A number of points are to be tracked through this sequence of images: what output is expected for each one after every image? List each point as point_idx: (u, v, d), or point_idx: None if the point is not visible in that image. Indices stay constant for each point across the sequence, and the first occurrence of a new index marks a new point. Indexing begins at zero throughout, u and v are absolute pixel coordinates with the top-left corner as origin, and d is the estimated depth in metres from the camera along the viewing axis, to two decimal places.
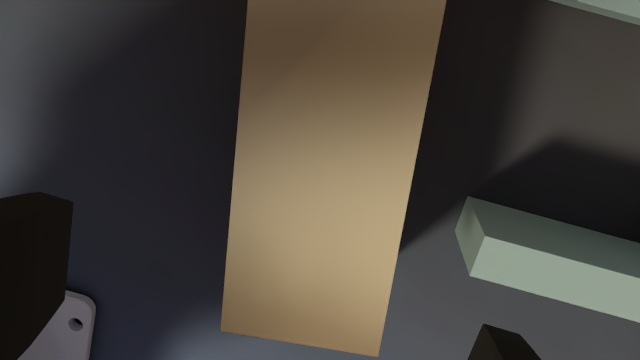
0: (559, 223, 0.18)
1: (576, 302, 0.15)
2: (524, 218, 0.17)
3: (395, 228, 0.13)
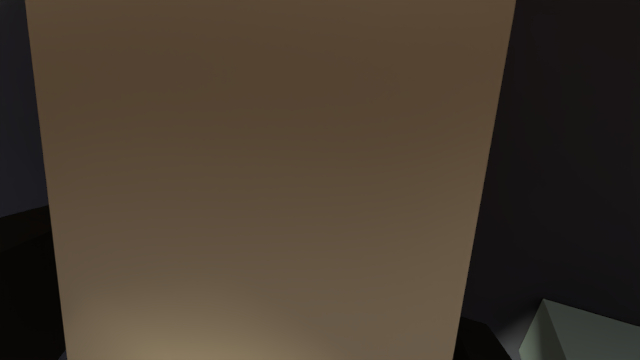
0: None
1: None
2: None
3: None
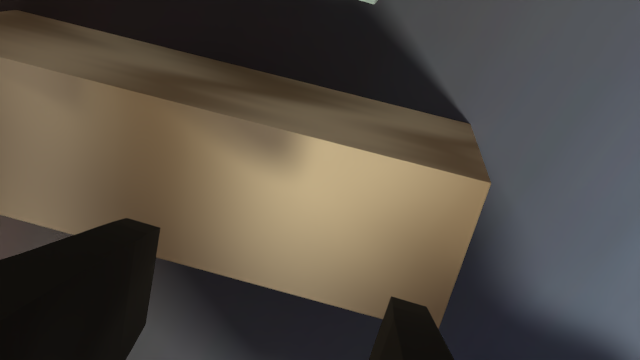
0: None
1: None
2: None
3: (331, 148, 0.13)
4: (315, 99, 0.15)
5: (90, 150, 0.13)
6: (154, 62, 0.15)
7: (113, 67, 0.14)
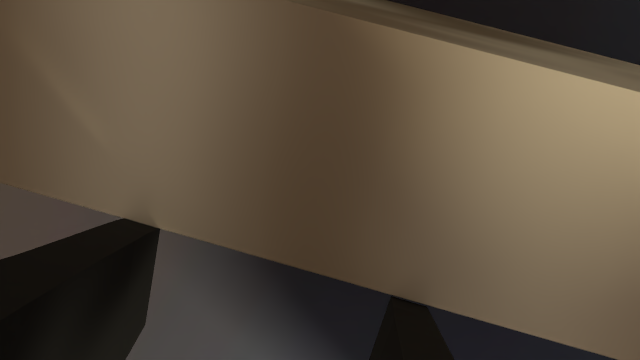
0: None
1: None
2: None
3: None
4: (533, 44, 0.11)
5: (231, 106, 0.09)
6: None
7: None
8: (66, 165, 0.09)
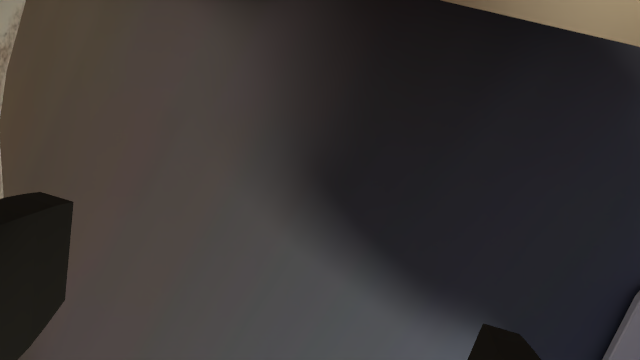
0: None
1: None
2: None
3: None
4: None
5: None
6: None
7: None
8: None
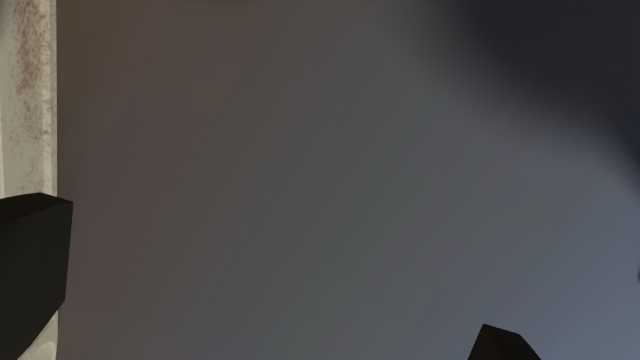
0: None
1: None
2: None
3: None
4: None
5: None
6: None
7: None
8: None
